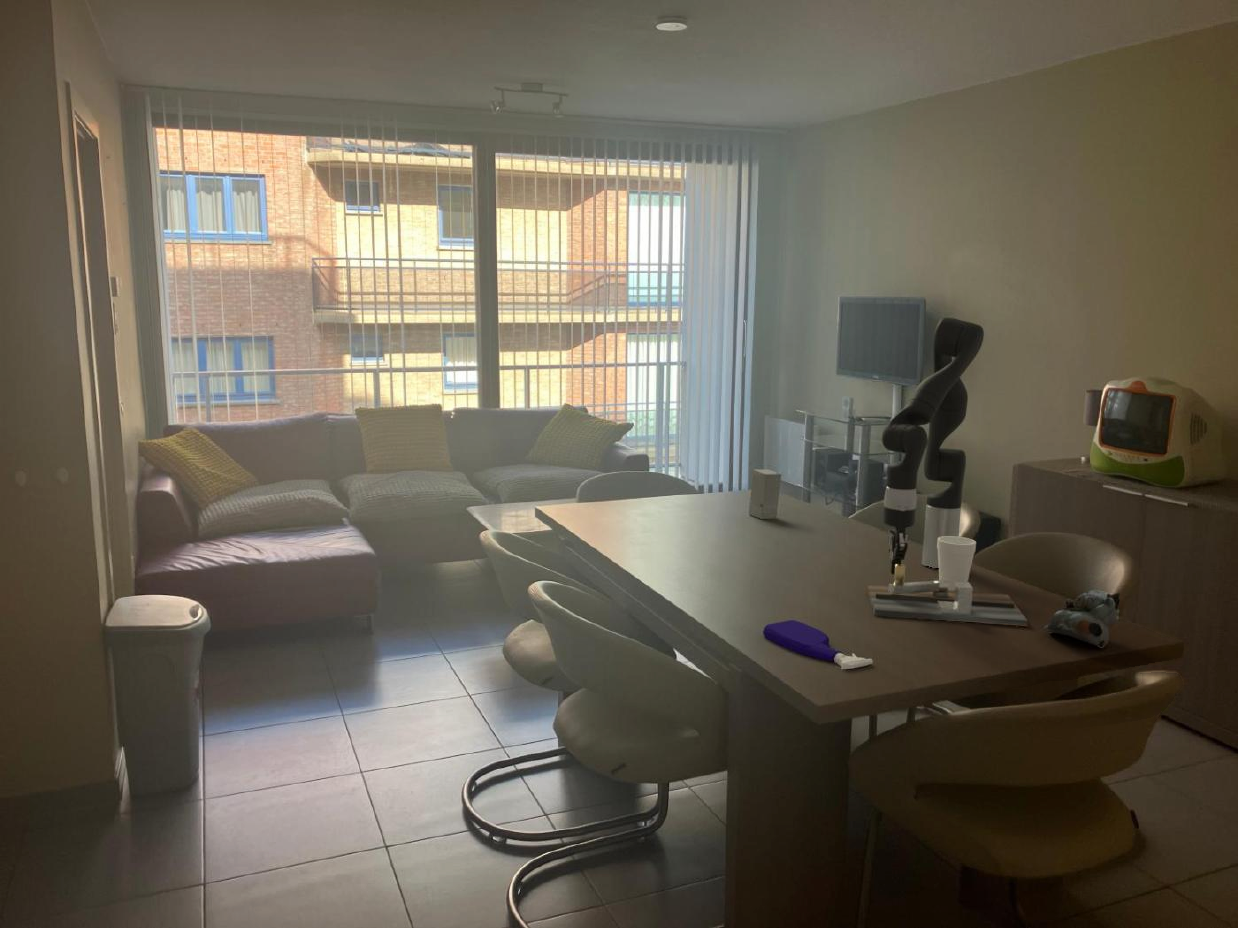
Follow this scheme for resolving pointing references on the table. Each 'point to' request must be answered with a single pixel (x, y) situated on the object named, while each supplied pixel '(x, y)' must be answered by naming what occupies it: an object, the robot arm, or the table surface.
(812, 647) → the spray bottle
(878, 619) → the table surface
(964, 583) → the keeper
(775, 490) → the skincare box
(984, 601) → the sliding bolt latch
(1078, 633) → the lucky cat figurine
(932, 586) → the swing bar
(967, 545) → the foam cup
